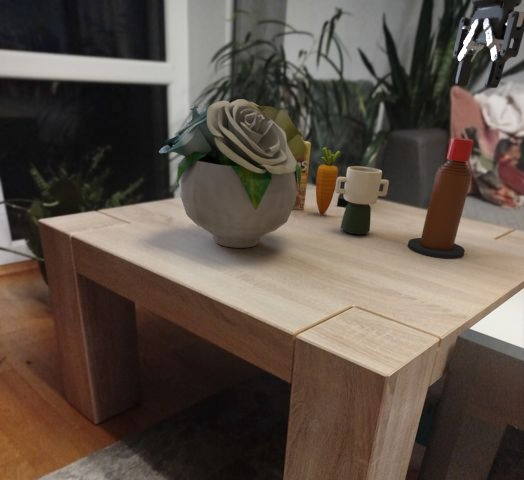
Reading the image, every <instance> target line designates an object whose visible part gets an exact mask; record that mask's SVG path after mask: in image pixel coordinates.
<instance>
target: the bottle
mask: <svg viewBox="0 0 524 480" xmlns="http://www.w3.org/2000/svg"><path fill="white" fill-rule="evenodd" d="M472 177H473V174H472V170H471V168H470V167H469V165H468V164H467V162H463V161H454V160H449V159H447V161H445V162H444V164H441V165H440V166H439V167H437V170H436V171H435V176H434V181H433V185H432V189H431V192H430V193H431V194H430V198H429V201H428V206H427V211H426V214H425V220H424V223H423V228H422V232H421V237H420V238H421V241H420V244H421V245H423V246H425V247H427V248H431V249H436V250H451V249H453V246H454V243H455V242H456V238H457V234H458V230H459V227H460V223H461V219H462V215H463V211H464V208H465V204H466V200H467V196H468V192H469V188H470V185H471V181H472Z"/></svg>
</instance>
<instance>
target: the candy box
mask: <svg viewBox="0 0 524 480" xmlns="http://www.w3.org/2000/svg"><path fill="white" fill-rule="evenodd" d="M304 142H305V145H306V148H307V150H306V152H305V153H304V154H303V155H302V156H300V157H294V158H295V160H296V161H297V164H298V165H299V166H300V167H301V168H302V175H301V184H300V189H299V184H298V187H297V195H296V202H295V204H294V207H293V209H292V210H297V211H304V210H305V204H306V203H305V202H306V194H307V187H308V186H307V185H308V177H309V176H308V175H309V167H310V157H311V148H312V143H311V142H310V141H307V140H304ZM297 182H298V178H297Z"/></svg>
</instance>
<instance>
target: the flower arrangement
mask: <svg viewBox="0 0 524 480" xmlns="http://www.w3.org/2000/svg"><path fill="white" fill-rule="evenodd" d="M198 109H199V106H198V105H197V104H196V103H195V104H193V107H192V108H190V111H191V119H190V120H189V121H187V122H186V124H185V125H184V126H183V127H182V128H181V129H178V130H177V131H176V132H175V133H173V134H174V137H170V138H169V139H166V140H165V141H164V143H165V144H166V145H164V146H163V147H162V148H160V150H159V151H158V153H159V154H161V155H162V154H168V153H169V154H170V153H175V154H177V155H180V156H182V157H183V158H182V159H181V160H180V161H179V162H178V163H177V169H176V170H177V171H176V185H178V184H179V187H178V188H179V196H180V200H181V203H182V206H183V208H184V211H185V214H186V216H187V217H188V218H189V219H190V220H191V221H192V222H193V223H194V224H195V225H197V227H200V228H201V229H203V230H205V231H207V232H208V233H209V234H211V237H212V240H213V241H214V242H215V243H216V244H218V245H219V246H223V247H227V248H235V249H246V248H252V247H254V246H257V245H258V244H259V242H260V240H261V238H262V237H263V236H266V235H267V234H270V233H273V232H276V231H277V230H278V229H280V228H281V227H282V226H284V225H285V224H286V223H287V222H288V220H289V219H290V215H291V214H292V211H293V210H294V209H293V207H294V204H295V202H296V195H297V187H298V184H299V189H300V184H301V175H302V168H301V167H300V166H299V165H298V164H297V161H296V160H295V158H294V157H300V156H302V155H303V154H304V153H305V152H306V150H307V148H306V145H305V142H304V141H305V140H304V139H303V133H302V131H300V130H299V129H298V128H297V127H296V126H295V124H294V123H293V121H292V119H291V117H290V115H289V114H288V112H287V110H285V109H280V110H279V109H278V108H276V107H273V106H267V105H266V106H265V105H264V106H262V105H258V104H257V103H254V102H253V101H249V100H246V99H245V98H241V99H235V100H233V99H227V100H219V101H216V102H214V103H211V104H210V105H209V106H206V108H204V109H202V110H201V111H200V112H199V111H198ZM297 178H298V182H297Z"/></svg>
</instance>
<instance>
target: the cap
mask: <svg viewBox="0 0 524 480" xmlns="http://www.w3.org/2000/svg"><path fill="white" fill-rule="evenodd" d="M474 142H475V141H474V139H471V138H464V137H451V138H450V141H449V145H448V149H447V153H446V159H447V160H454V161H463V162H466V163H467V162H469V161H470V158H471V155H472V151H473V147H474Z"/></svg>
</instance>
